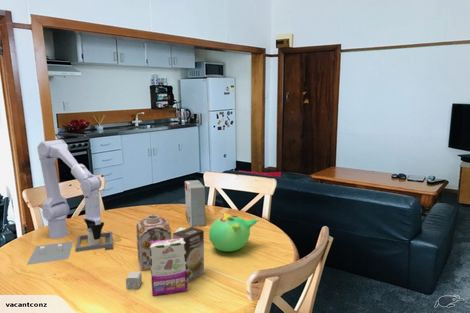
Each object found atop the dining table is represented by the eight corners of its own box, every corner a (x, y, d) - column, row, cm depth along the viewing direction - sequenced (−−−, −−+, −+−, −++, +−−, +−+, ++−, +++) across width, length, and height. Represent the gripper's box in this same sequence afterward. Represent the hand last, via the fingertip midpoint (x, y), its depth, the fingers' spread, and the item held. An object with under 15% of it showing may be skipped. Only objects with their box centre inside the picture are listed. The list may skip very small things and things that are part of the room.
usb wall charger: (141, 282, 117) (141, 271, 116) (136, 293, 110) (136, 281, 109) (129, 282, 117) (129, 271, 116) (124, 293, 110) (123, 282, 109)
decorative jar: (137, 258, 135) (135, 213, 133) (167, 253, 139) (165, 210, 137) (140, 271, 124) (138, 223, 121) (173, 266, 128) (171, 219, 125)
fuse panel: (36, 248, 145) (35, 240, 144) (73, 243, 149) (72, 235, 149) (27, 267, 128) (26, 258, 127) (68, 261, 133) (67, 252, 132)
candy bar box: (185, 283, 116) (184, 236, 113) (187, 291, 111) (186, 242, 109) (151, 288, 113) (149, 240, 110) (151, 296, 108) (149, 246, 106)
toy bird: (225, 238, 155) (225, 206, 153) (259, 245, 146) (259, 212, 144) (201, 252, 140) (200, 217, 137) (237, 262, 131) (237, 225, 129)
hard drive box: (185, 217, 183) (184, 180, 180) (199, 216, 185) (199, 179, 182) (190, 227, 168) (189, 187, 165) (206, 226, 170) (205, 186, 167)
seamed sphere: (186, 248, 144) (185, 231, 142) (170, 246, 146) (170, 229, 145) (196, 239, 153) (196, 223, 152) (181, 237, 155) (181, 222, 154)
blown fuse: (87, 244, 147) (86, 228, 146) (98, 242, 150) (96, 226, 149) (89, 246, 145) (88, 230, 144) (99, 244, 147) (98, 228, 146)
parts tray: (78, 241, 152) (78, 235, 152) (112, 237, 157) (112, 231, 156) (75, 254, 139) (75, 248, 138) (112, 249, 144) (112, 243, 143)
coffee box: (185, 284, 116) (184, 238, 113) (173, 278, 120) (171, 233, 117) (204, 273, 123) (204, 230, 120) (192, 268, 127) (191, 226, 124)
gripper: (78, 203, 148) (80, 233, 151) (86, 211, 137) (89, 244, 139) (95, 200, 153) (97, 229, 155) (105, 208, 141) (107, 239, 143)
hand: (94, 236), depth 147 cm, fingers open, 7 cm apart
